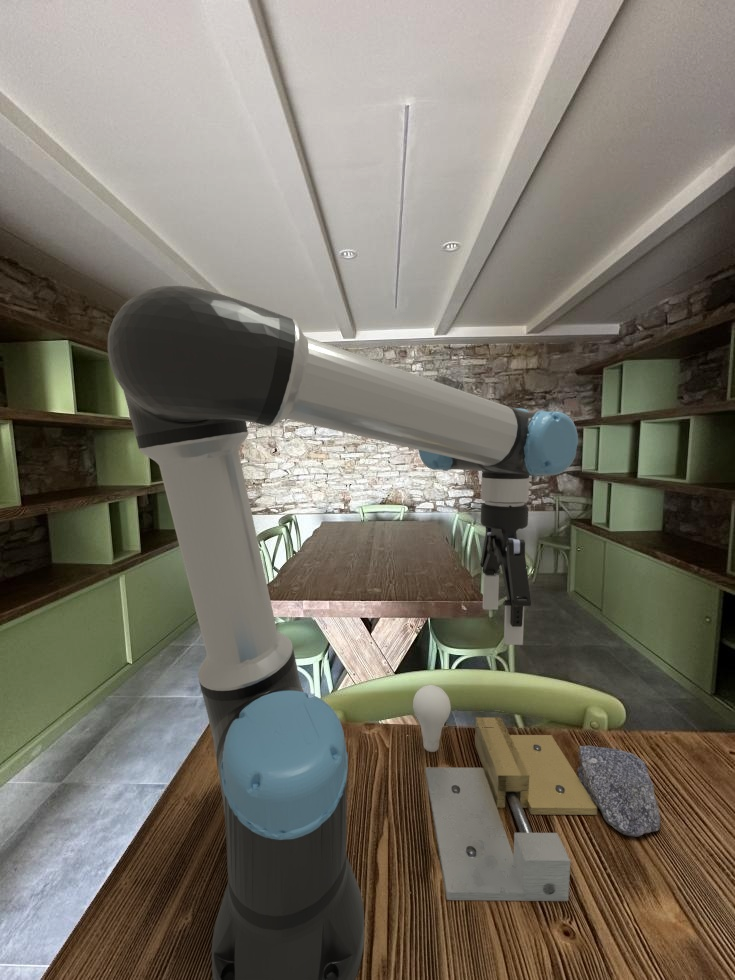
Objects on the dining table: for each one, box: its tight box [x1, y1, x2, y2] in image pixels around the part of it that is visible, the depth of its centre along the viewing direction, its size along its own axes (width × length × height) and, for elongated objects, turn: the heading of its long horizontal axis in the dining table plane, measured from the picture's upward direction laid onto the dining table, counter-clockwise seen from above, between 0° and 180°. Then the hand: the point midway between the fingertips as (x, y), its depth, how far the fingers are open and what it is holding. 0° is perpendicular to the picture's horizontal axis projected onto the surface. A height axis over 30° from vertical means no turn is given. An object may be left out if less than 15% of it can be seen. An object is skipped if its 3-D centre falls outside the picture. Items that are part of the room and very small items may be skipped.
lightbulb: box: [412, 684, 451, 753], centre depth 66 cm, size 6×6×11 cm
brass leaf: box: [474, 717, 598, 816], centre depth 62 cm, size 13×14×5 cm
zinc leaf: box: [425, 766, 571, 902], centre depth 56 cm, size 14×24×5 cm, turn 0°
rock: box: [577, 745, 661, 838], centre depth 57 cm, size 12×5×10 cm
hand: (500, 624), depth 69 cm, fingers open, 13 cm apart
